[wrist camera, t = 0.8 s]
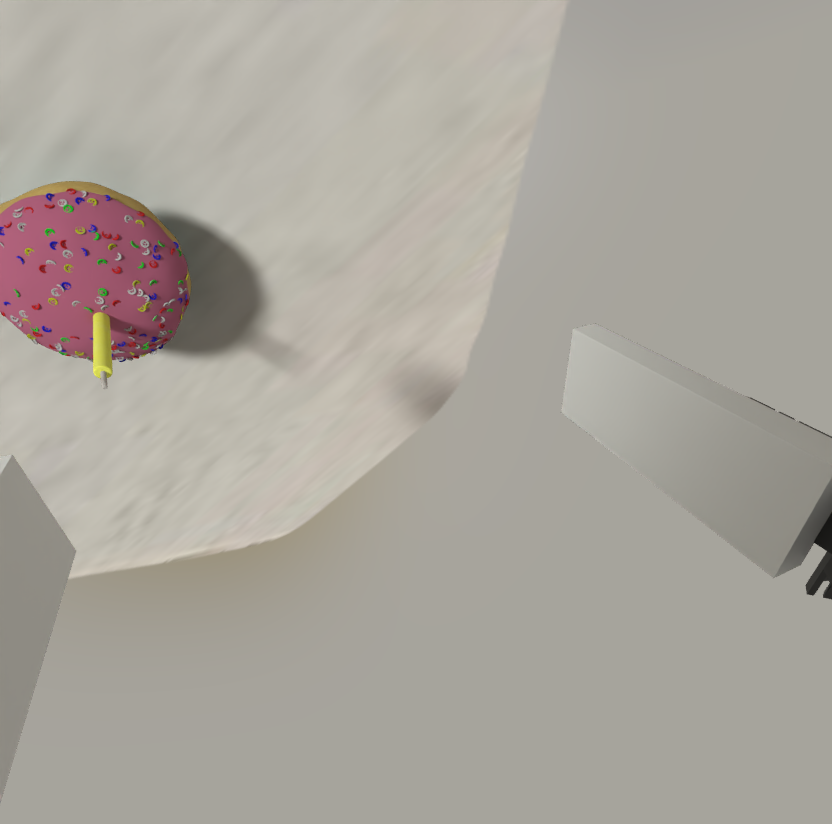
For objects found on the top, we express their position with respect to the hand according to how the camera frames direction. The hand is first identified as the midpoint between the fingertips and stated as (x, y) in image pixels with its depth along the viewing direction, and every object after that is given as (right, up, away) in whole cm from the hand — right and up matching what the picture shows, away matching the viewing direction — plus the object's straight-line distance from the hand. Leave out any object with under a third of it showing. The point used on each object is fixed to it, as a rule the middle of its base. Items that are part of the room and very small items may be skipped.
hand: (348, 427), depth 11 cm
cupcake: (-16, +9, +15) cm, 24 cm away
